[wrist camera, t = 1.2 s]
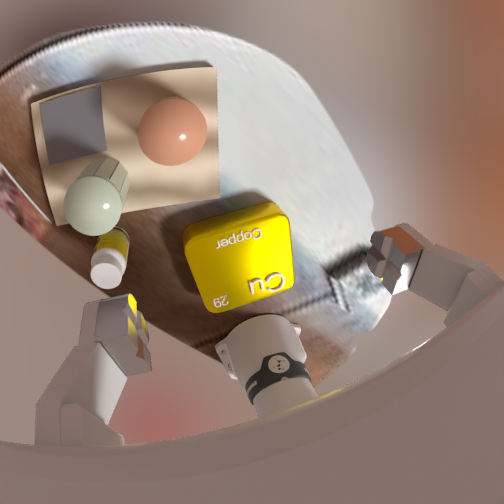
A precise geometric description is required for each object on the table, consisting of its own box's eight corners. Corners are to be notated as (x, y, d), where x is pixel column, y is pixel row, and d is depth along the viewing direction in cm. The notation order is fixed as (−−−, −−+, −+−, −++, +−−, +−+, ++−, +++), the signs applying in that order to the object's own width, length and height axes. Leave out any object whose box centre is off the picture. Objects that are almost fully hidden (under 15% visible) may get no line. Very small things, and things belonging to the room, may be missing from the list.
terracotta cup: (199, 145, 31) (208, 161, 25) (146, 152, 30) (141, 170, 24) (197, 94, 28) (206, 95, 22) (141, 100, 26) (134, 104, 20)
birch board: (218, 193, 37) (220, 198, 36) (59, 221, 32) (56, 226, 30) (214, 67, 27) (217, 66, 26) (35, 102, 22) (30, 103, 21)
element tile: (277, 197, 41) (290, 211, 37) (286, 273, 50) (297, 290, 46) (178, 226, 38) (180, 244, 35) (205, 299, 48) (210, 319, 44)
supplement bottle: (98, 223, 34) (85, 258, 27) (130, 225, 36) (124, 260, 29) (99, 253, 36) (89, 290, 30) (129, 254, 38) (125, 292, 31)
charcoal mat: (107, 150, 28) (106, 150, 28) (50, 164, 26) (49, 165, 26) (100, 86, 23) (99, 86, 23) (41, 103, 21) (40, 104, 21)
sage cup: (133, 201, 32) (126, 230, 27) (87, 210, 31) (73, 240, 25) (125, 153, 29) (114, 171, 23) (77, 163, 27) (56, 184, 21)
